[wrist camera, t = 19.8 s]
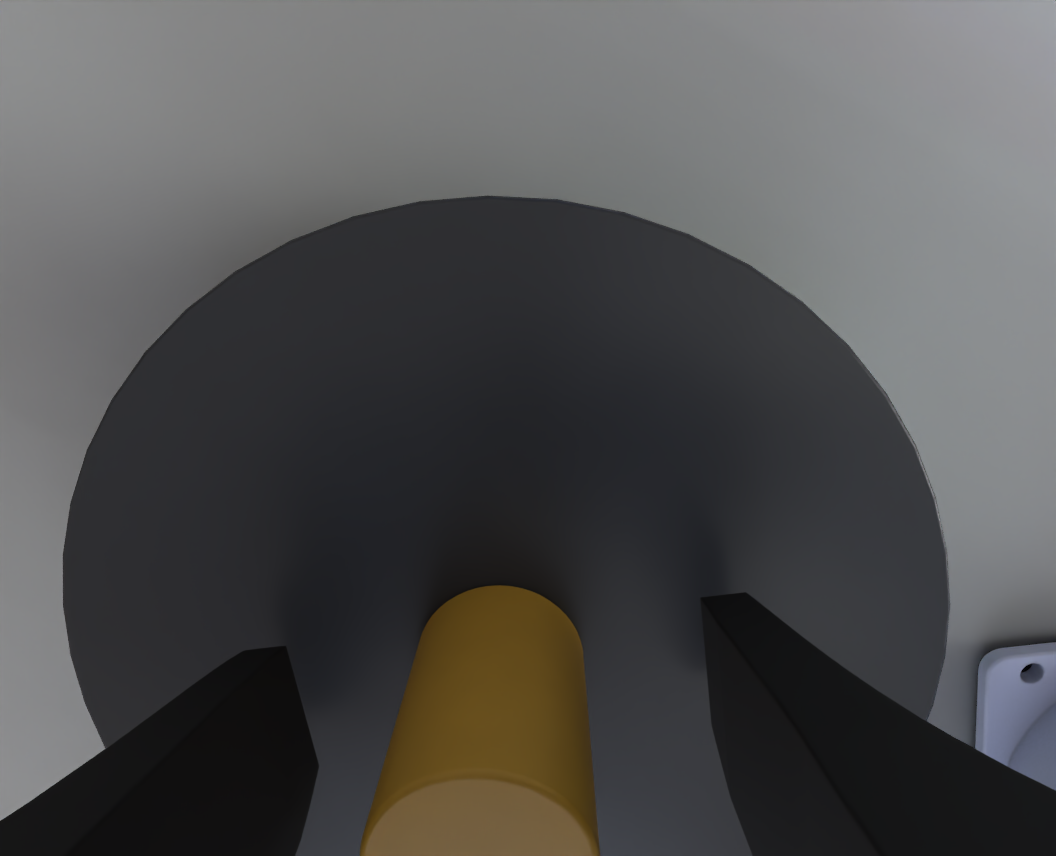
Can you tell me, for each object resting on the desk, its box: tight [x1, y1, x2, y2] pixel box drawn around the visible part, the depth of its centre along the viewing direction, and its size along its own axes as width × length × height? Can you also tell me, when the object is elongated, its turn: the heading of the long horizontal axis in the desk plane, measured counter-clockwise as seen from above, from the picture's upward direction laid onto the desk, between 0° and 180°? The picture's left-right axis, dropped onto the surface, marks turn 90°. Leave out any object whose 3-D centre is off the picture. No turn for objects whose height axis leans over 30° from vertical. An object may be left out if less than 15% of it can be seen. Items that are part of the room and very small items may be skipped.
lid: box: [63, 196, 950, 856], centre depth 9 cm, size 13×13×5 cm
